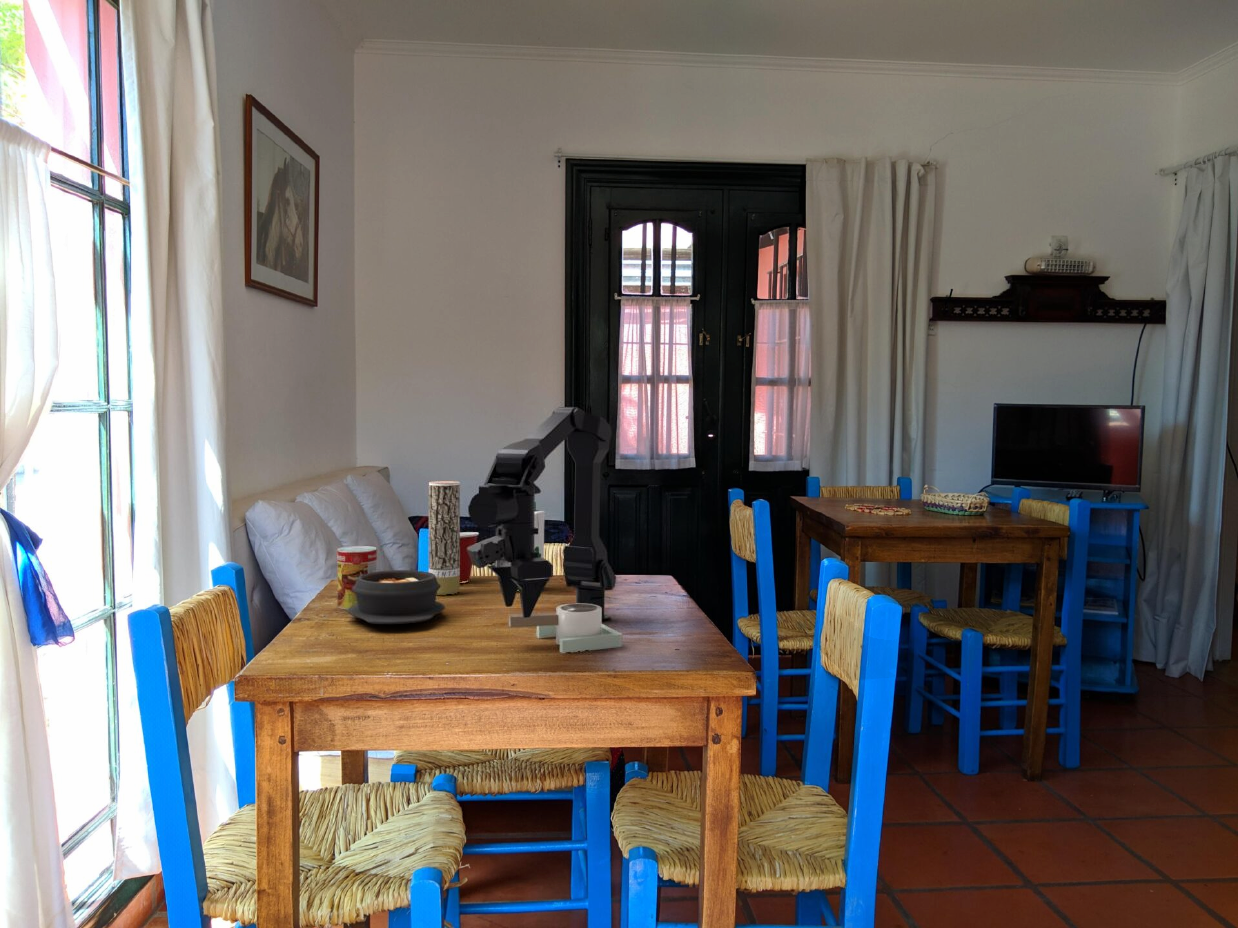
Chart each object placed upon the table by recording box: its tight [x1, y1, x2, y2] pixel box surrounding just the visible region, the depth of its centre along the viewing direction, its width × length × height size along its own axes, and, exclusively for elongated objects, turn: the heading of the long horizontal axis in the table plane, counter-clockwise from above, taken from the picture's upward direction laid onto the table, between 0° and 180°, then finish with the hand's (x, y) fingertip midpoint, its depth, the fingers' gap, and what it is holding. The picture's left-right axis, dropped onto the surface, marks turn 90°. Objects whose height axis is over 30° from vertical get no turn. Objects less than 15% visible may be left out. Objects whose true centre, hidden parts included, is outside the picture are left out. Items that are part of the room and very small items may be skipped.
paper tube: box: [428, 480, 461, 596], centre depth 200 cm, size 7×7×25 cm
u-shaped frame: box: [536, 623, 623, 654], centre depth 158 cm, size 12×11×2 cm
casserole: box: [347, 569, 446, 625], centre depth 175 cm, size 25×19×8 cm
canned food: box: [336, 545, 378, 611], centre depth 186 cm, size 8×8×12 cm
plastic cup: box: [460, 531, 480, 582], centre depth 214 cm, size 11×11×12 cm
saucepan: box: [508, 602, 603, 646], centre depth 156 cm, size 16×8×6 cm, turn 105°
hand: (517, 611), depth 153 cm, fingers open, 9 cm apart
